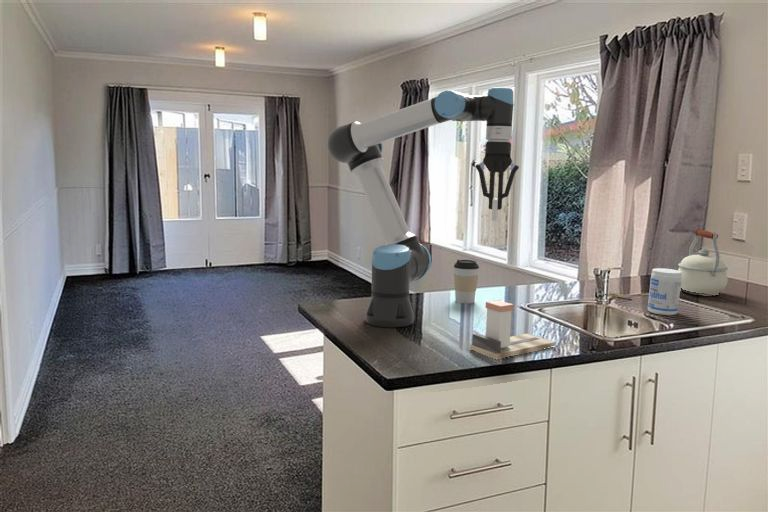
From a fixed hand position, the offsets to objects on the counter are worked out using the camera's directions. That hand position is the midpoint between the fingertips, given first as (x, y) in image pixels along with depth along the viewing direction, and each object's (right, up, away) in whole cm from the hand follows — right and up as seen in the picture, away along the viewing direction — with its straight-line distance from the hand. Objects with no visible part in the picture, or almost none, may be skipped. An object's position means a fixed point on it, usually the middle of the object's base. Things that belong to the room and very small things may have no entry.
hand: (494, 220), depth 192 cm
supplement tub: (+62, -30, +26) cm, 74 cm away
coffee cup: (-4, -27, +36) cm, 45 cm away
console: (+1, -36, -20) cm, 41 cm away
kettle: (+92, -25, +62) cm, 114 cm away
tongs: (+56, -27, +49) cm, 79 cm away
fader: (-3, -34, -24) cm, 42 cm away
